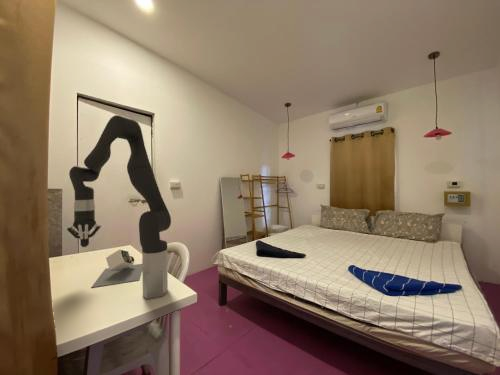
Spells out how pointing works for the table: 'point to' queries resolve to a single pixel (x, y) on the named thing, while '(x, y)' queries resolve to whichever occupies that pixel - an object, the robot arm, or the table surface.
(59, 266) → the table surface
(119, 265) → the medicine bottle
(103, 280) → the mat
